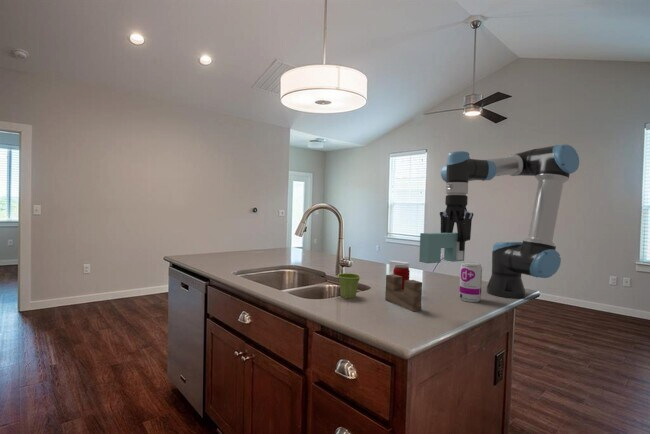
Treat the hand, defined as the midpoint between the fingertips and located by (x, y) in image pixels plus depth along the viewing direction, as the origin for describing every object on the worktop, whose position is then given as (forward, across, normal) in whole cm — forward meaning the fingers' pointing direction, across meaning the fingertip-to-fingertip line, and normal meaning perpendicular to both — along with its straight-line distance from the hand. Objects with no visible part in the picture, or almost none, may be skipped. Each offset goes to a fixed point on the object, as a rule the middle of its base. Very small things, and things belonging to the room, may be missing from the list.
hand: (454, 258), depth 126 cm
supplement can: (+19, -7, +18) cm, 27 cm away
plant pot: (+19, -30, -26) cm, 44 cm away
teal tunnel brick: (+1, 0, -6) cm, 6 cm away
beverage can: (+19, -25, -3) cm, 31 cm away
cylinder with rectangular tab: (+19, -35, +4) cm, 40 cm away
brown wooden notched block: (+19, -12, -13) cm, 26 cm away
